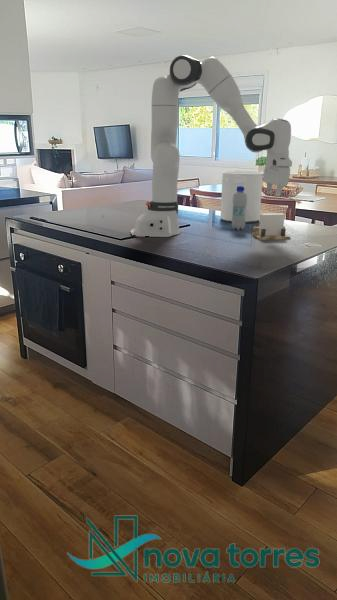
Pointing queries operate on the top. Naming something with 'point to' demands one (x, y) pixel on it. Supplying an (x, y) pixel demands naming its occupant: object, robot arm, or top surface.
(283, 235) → the tan pegged board
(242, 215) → the bottle
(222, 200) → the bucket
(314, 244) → the top surface
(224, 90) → the robot arm
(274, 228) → the white rectangular block
